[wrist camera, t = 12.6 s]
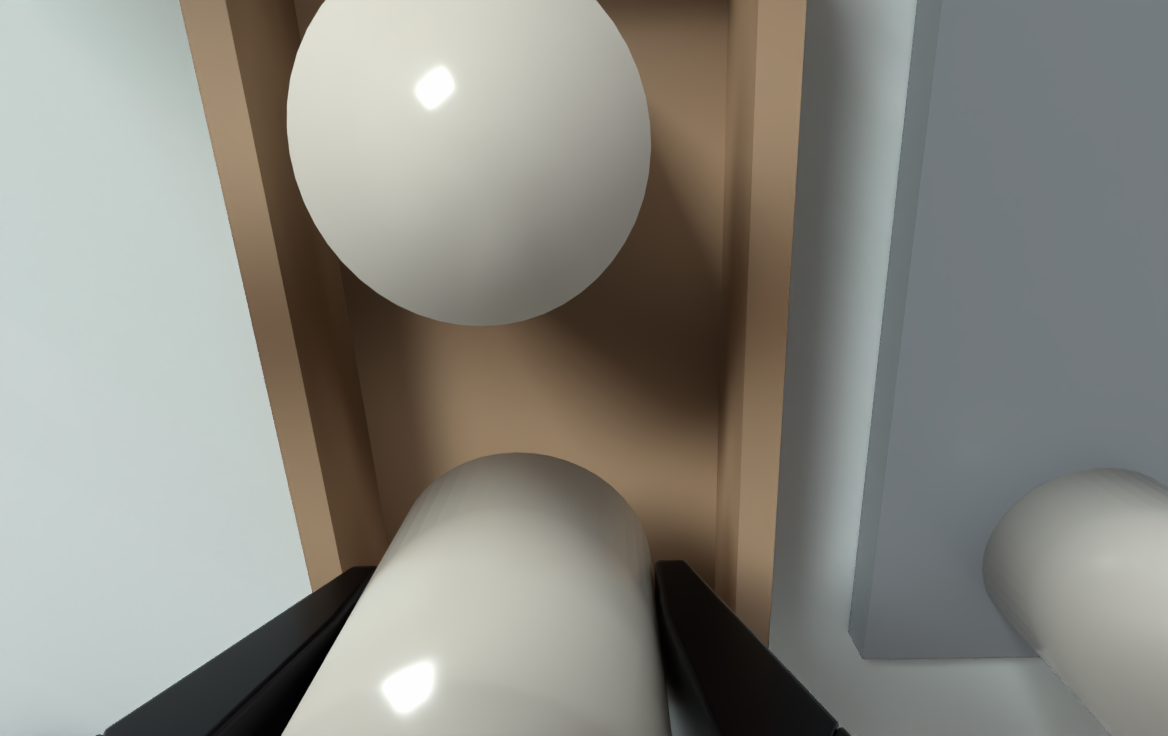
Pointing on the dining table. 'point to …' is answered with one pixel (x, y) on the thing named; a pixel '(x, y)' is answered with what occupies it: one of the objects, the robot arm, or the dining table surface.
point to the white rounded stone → (1092, 590)
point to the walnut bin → (552, 340)
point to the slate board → (1012, 300)
